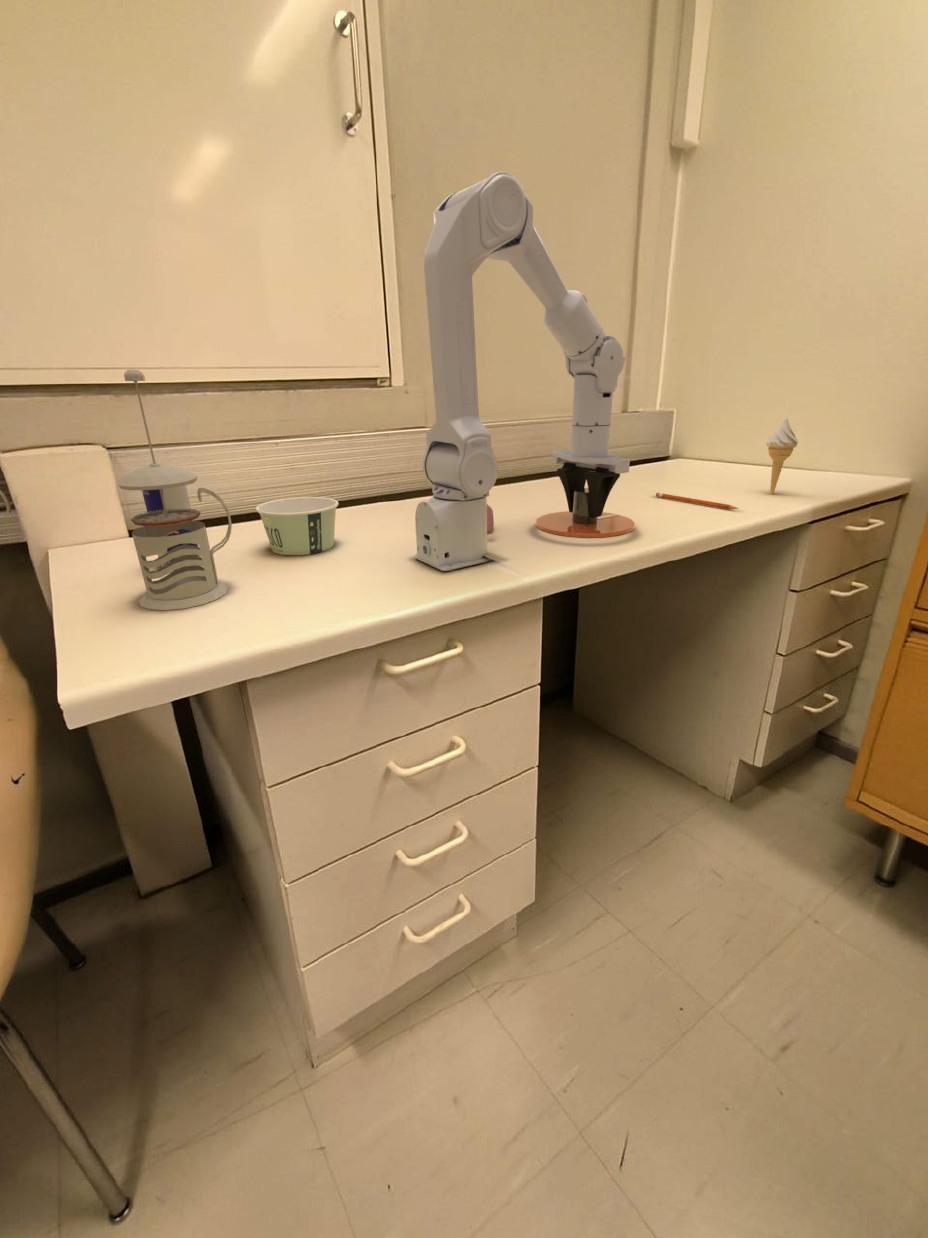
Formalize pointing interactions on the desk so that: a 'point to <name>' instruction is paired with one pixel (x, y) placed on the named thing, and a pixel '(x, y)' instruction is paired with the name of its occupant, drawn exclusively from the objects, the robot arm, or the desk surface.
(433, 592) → the desk surface
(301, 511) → the food container
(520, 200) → the robot arm
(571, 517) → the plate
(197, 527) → the french press
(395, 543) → the desk surface
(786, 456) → the ice cream cone
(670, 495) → the pencil
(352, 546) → the desk surface
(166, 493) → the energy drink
